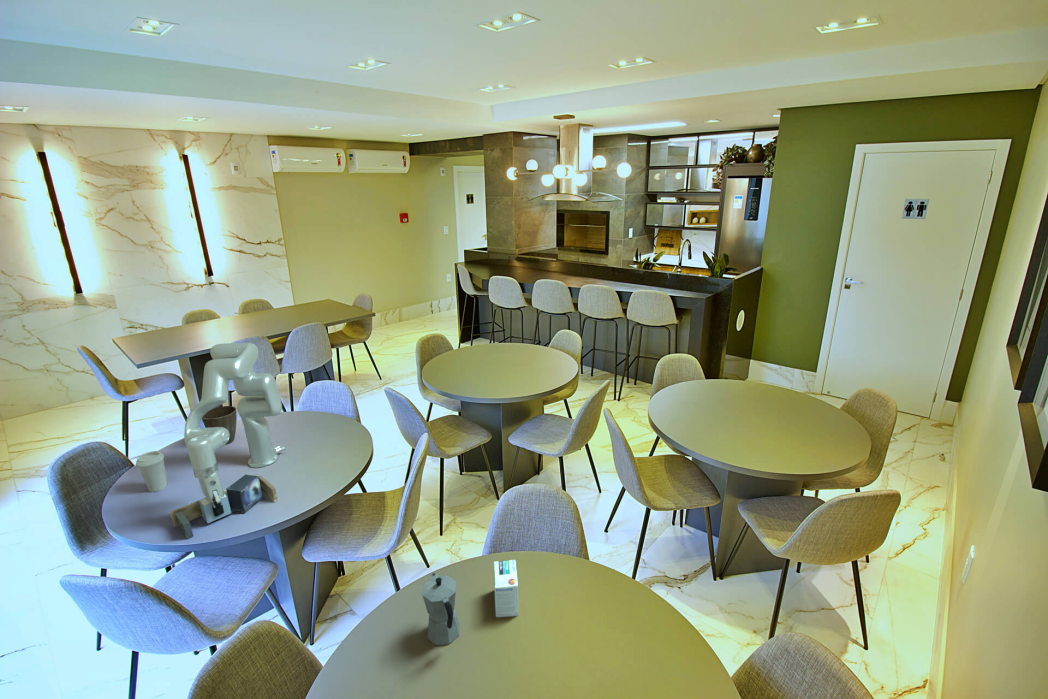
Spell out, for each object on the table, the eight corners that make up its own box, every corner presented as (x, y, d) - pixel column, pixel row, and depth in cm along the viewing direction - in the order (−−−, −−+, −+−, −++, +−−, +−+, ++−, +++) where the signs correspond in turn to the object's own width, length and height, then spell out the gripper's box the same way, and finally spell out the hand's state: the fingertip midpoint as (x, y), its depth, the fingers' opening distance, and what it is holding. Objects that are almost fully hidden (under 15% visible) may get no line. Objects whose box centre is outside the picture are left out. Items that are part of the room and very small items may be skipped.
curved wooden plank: (263, 487, 207) (260, 475, 205) (277, 501, 198) (275, 487, 196) (173, 525, 185) (169, 512, 183) (185, 542, 176) (181, 528, 174)
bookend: (185, 524, 185) (181, 510, 183) (193, 535, 179) (189, 522, 177) (178, 526, 184) (174, 513, 182) (187, 538, 177) (183, 525, 175)
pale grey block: (226, 507, 193) (222, 490, 190) (231, 513, 189) (227, 496, 187) (203, 517, 187) (198, 500, 185) (207, 523, 184) (203, 506, 181)
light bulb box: (494, 589, 152) (492, 560, 148) (516, 587, 152) (515, 558, 149) (495, 618, 141) (493, 588, 138) (519, 616, 142) (518, 585, 139)
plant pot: (210, 438, 250) (202, 409, 245) (243, 432, 256) (237, 403, 251) (206, 451, 237) (198, 421, 232) (241, 444, 243) (234, 414, 238)
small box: (245, 514, 190) (239, 490, 187) (230, 512, 192) (224, 489, 188) (264, 498, 200) (259, 475, 197) (249, 496, 201) (244, 473, 198)
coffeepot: (419, 621, 141) (413, 569, 135) (451, 608, 145) (446, 557, 140) (437, 664, 128) (432, 609, 123) (471, 648, 132) (467, 594, 127)
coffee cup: (177, 483, 212) (168, 451, 207) (155, 495, 204) (145, 463, 199) (161, 479, 215) (152, 448, 210) (138, 491, 207) (128, 460, 202)
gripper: (225, 473, 179) (235, 515, 185) (209, 457, 190) (219, 498, 196) (201, 482, 174) (213, 525, 180) (186, 465, 185) (198, 507, 191)
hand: (216, 510), depth 188 cm, fingers closed on pale grey block, 5 cm apart
